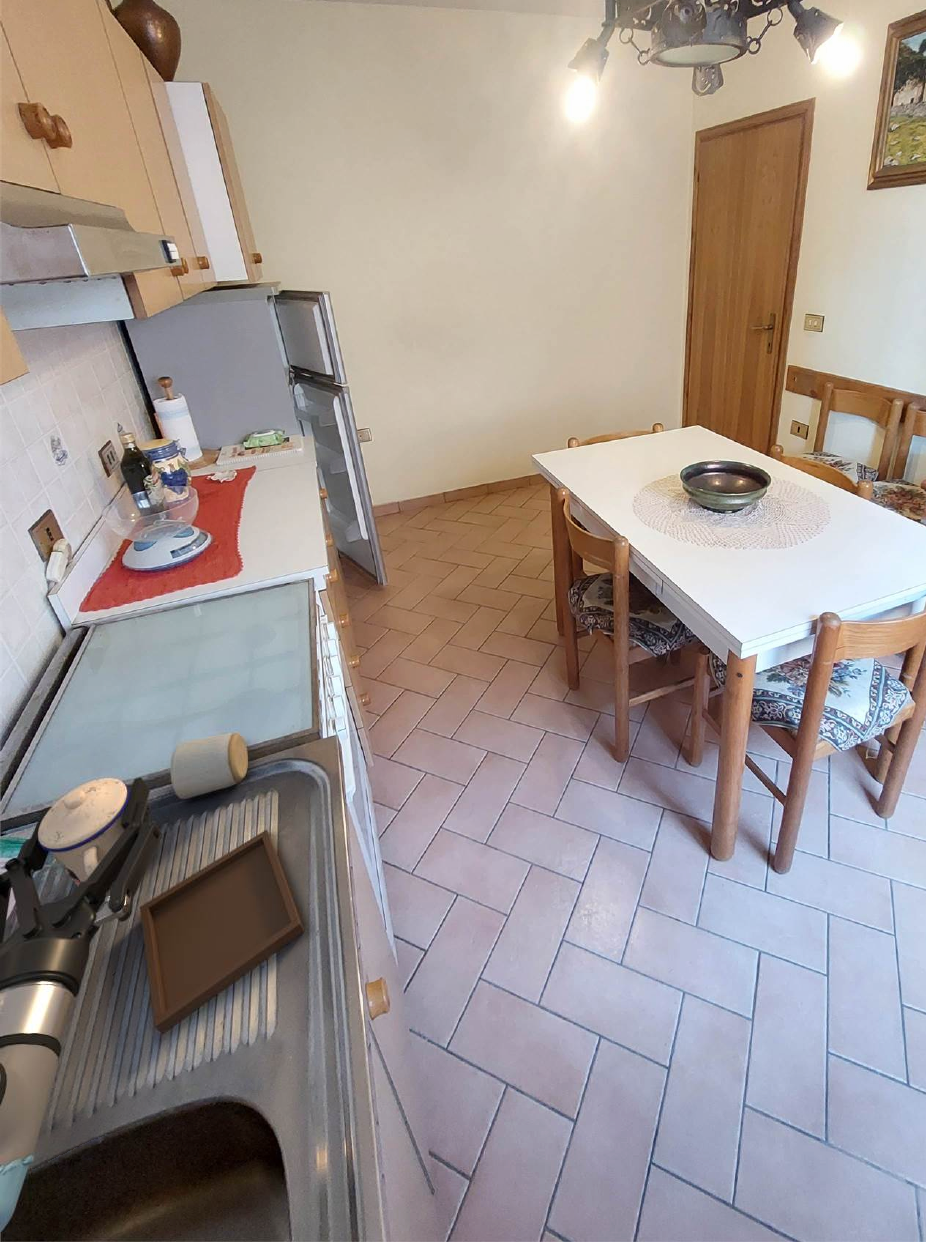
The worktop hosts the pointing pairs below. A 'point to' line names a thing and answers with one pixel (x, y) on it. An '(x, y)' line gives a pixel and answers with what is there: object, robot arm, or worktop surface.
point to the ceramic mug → (208, 764)
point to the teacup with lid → (85, 826)
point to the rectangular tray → (216, 928)
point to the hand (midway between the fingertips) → (98, 799)
